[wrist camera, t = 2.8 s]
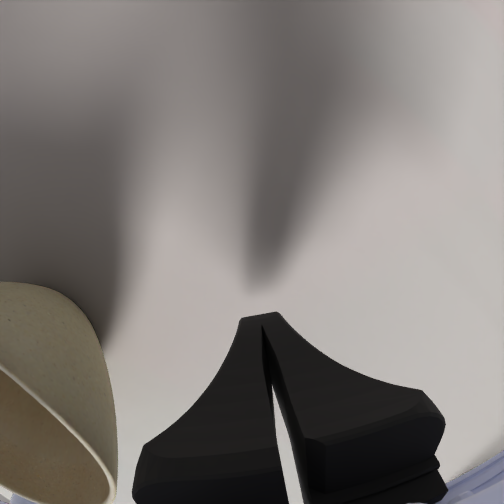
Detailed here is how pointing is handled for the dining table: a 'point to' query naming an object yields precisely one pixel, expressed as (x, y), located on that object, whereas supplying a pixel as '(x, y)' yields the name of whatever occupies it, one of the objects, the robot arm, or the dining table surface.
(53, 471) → the flower pot
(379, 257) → the dining table surface
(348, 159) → the dining table surface
